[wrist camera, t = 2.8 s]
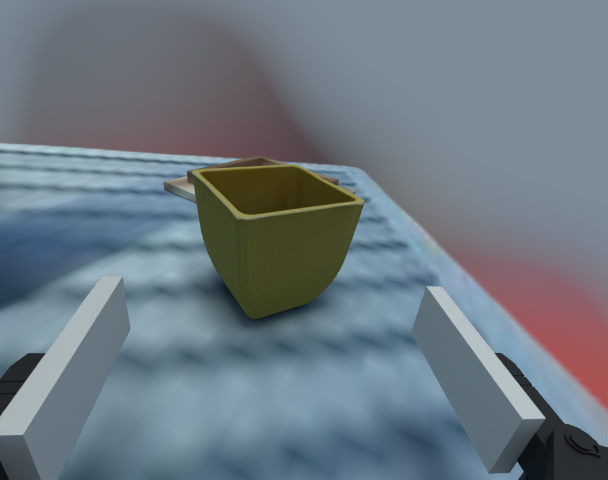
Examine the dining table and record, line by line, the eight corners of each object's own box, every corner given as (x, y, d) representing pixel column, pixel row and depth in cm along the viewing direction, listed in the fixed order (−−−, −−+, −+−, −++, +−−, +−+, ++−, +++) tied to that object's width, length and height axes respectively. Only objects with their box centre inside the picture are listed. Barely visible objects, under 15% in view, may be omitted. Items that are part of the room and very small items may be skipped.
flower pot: (193, 276, 28) (189, 167, 24) (286, 256, 32) (297, 162, 28) (235, 350, 22) (240, 218, 17) (344, 312, 26) (368, 201, 22)
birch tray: (164, 189, 43) (162, 169, 42) (257, 166, 57) (258, 151, 56) (277, 238, 35) (279, 215, 34) (354, 197, 49) (358, 180, 48)
